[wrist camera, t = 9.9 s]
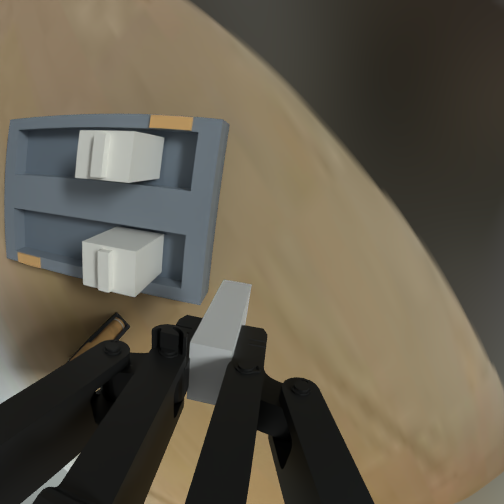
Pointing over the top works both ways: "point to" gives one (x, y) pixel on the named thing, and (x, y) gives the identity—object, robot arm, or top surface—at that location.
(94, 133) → the tab
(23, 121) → the switch bank
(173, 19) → the top surface
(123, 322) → the ammunition clip
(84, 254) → the tab
